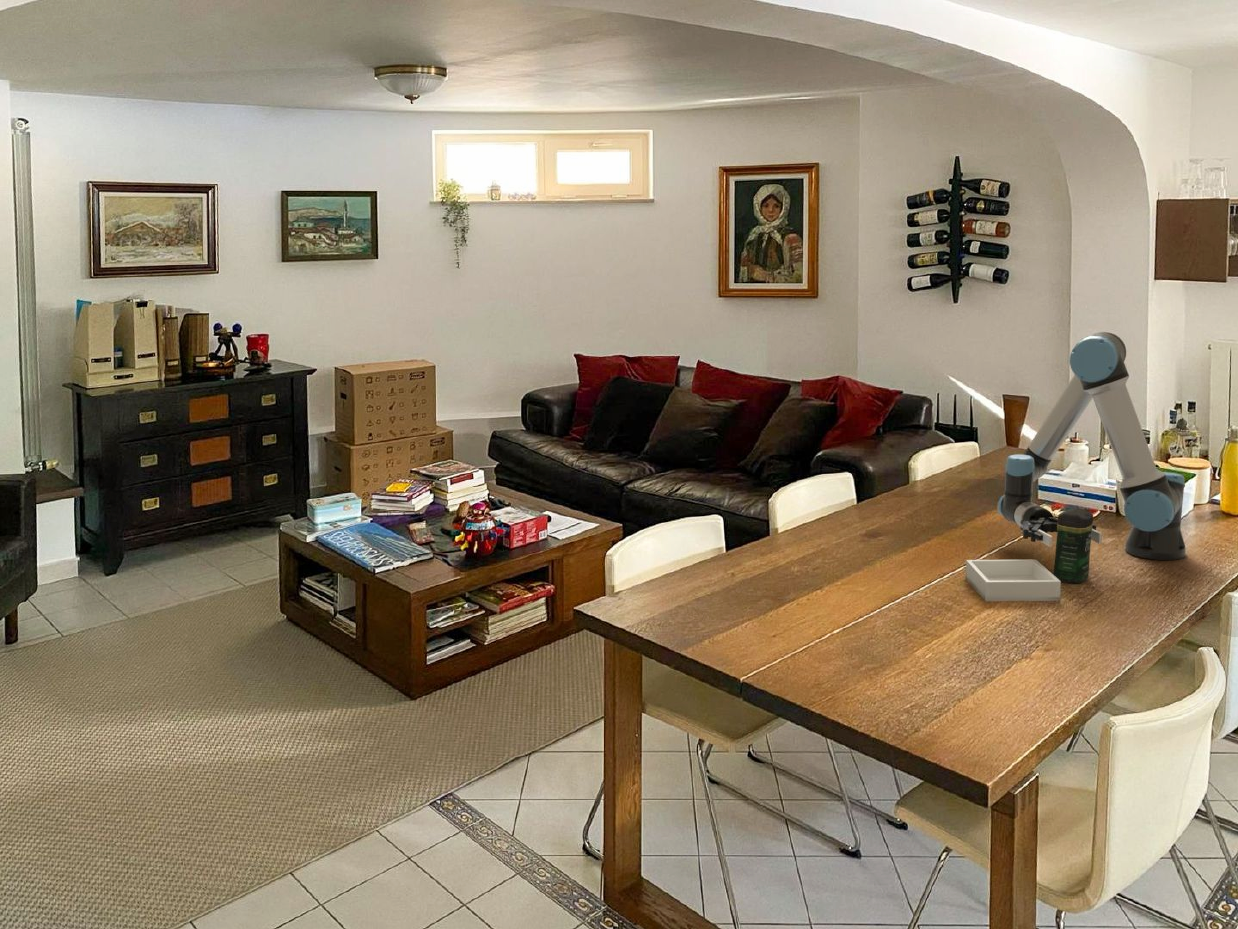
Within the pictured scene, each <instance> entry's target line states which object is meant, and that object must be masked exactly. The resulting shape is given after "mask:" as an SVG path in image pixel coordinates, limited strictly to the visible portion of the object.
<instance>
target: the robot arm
mask: <svg viewBox="0 0 1238 929" xmlns="http://www.w3.org/2000/svg"><path fill="white" fill-rule="evenodd" d="M1069 355H1070V356H1069V365H1070V369H1071V372H1073V373H1072V374H1074V375H1073V376H1072V378H1071V380H1070V381H1069V382H1068V384H1067V385H1066V387H1065V389H1064V390H1063V392H1062V394H1061V395H1060V397H1059V398H1058V399H1057V402H1056V403H1055V404H1054V406H1053V408H1052V409H1051V410H1050V412H1049V413H1048V416H1047V417H1046V418H1045V420H1044V422H1043V423H1042V424H1041V426H1040V428H1039V429H1038V431H1037V433H1036V434H1035V436H1033V439H1032V441H1031V442H1030V443H1029V445H1028V447H1027V448H1025V449H1026V450H1024V452H1023V454H1012V455H1008V457H1006V462H1005V463H1006V464H1005V467H1004V468H1005V473H1004V474H1005V477H1004V494H1003V495H1002V496H1000V498H999V499H998V502H997V511H998V513H999V515H1000V516H1002V517H1003V518H1004V519H1005V520H1007V521H1008V522H1011V523H1013V524H1015V525H1017V526H1019V528H1020V531H1022V539H1024V540H1027V539H1029V538H1030V542H1032V543H1035V542H1036V541H1038V542H1040V543H1042V544H1043V545H1046V546H1047V547H1048V548H1050V547H1053V538H1054V537H1053V536H1052V535H1050V534H1049V533H1057V521H1058V518H1056V517H1054V515H1053V513H1052V512H1051V511H1049V509H1046V508H1044V507H1043V506H1040V505H1039V504H1036V503H1034V502H1033V490H1034V487H1033V486H1034V482H1036V481H1037V480H1038V479H1040V478H1042V477H1043V476H1044V474H1045V473H1046V472H1047V470H1048V466H1049V465H1050V463H1052V462H1051V461H1052V460H1053V458H1054V457H1055V455H1056V454H1057V453H1058V451H1059V449H1060V448H1061V446H1062V445H1063V444H1064V442H1065V441H1066V439H1067V438H1068V436H1069V434H1070V433H1071V432H1072V430H1073V429H1074V427H1075V426H1076V424H1077V422H1078V421H1079V420H1080V418H1081V417H1082V415H1083V414H1084V413H1085V410H1086V409H1087V407H1088V406H1089V404H1090V403H1091V401H1092V400H1093V401H1094V402H1093V403H1094V406H1095V407H1096V409H1097V412H1098V415H1099V418H1100V421H1101V424H1102V426H1103V428H1104V432H1105V434H1106V437H1107V440H1108V442H1109V446H1110V448H1111V451H1112V453H1113V456H1114V459H1115V461H1116V464H1117V467H1118V470H1119V472H1120V475H1121V478H1122V480H1121V481H1120V484H1119V485H1118V488H1119V490H1120V493H1121V496H1122V499H1123V501H1124V505H1123V511H1124V512H1123V513H1124V516H1125V518H1126V520H1127V522H1128V523H1129V524H1130V525H1131V529H1130V530H1129V534H1128V536H1127V538H1126V540H1125V544H1124V551H1125V552H1126V553H1128V554H1130V555H1132V556H1134V557H1138V558H1143V559H1149V560H1158V561H1176V560H1181V559H1183V558H1185V556H1186V549H1187V548H1186V543H1185V540H1184V537H1183V533H1182V529H1181V527H1182V526H1181V524H1182V522H1181V521H1182V513H1183V503H1184V491H1185V490H1184V489H1185V488H1186V484H1185V476H1184V475H1182V474H1180V473H1175V472H1167V471H1161V470H1159V469H1158V468H1157V467H1156V463H1155V461H1154V459H1153V456H1152V453H1151V450H1150V447H1149V445H1148V442H1147V439H1146V436H1145V434H1144V431H1143V428H1142V426H1141V422H1140V421H1139V418H1138V415H1137V414H1138V413H1137V412H1136V409H1135V407H1134V404H1133V401H1132V399H1131V395H1130V393H1129V391H1128V386H1127V385H1126V384H1127V382H1128V380H1129V378H1130V374H1129V371H1128V369H1127V366H1126V363H1125V361H1126V357H1127V348H1126V344H1125V343H1124V340H1123V339H1121V337H1120V336H1118V335H1116V334H1114V333H1112V332H1107V331H1099V332H1096V333H1094V334H1091V335H1089V336H1086V337H1084V338H1082V339H1080V340H1079V341H1078V342H1077V343H1076V344H1075V345H1074V347H1073V348H1072V350H1071V352H1070V354H1069ZM1091 541H1093V542H1095V543H1097V544H1102V542H1103V533H1102V532H1101V531H1099V530H1097V525H1096V524H1093V526H1092V534H1091Z"/></svg>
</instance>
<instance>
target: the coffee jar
mask: <svg viewBox="0 0 1238 929" xmlns="http://www.w3.org/2000/svg"><path fill="white" fill-rule="evenodd" d="M1057 519H1058V521H1057V532H1056V541H1055V542H1056V543H1055V554H1054V563H1053V572H1052V574H1053V575H1054V576H1055V577H1056V578H1057V579H1059V580H1060V581H1061V583H1062V582H1063V583H1068V584H1070V583H1074V584H1075V583H1076V584H1080V583H1082V582H1085V580H1087V579H1088V578H1089V575H1090V559H1091V558H1090V557H1091V556H1090V555H1091V544H1092V543H1091V542H1092V540H1091V534H1092V526H1093V525H1094V515H1093V513H1092V512H1091V511H1090V510H1089V509H1085V508H1080V507H1072V508H1070V509H1067V510H1065V511H1063V512H1060V513H1059V514H1058V516H1057Z"/></svg>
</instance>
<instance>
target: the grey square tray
mask: <svg viewBox="0 0 1238 929" xmlns="http://www.w3.org/2000/svg"><path fill="white" fill-rule="evenodd" d="M964 576H965V580H966V581H967V582H968V584H969V585H970V586H971V587H972V588H973V589H974V590H975V591H976V592H977V594H978V595H979V596H980V595H981V596H980V597H981V598H982V600H984V601H985V602H1059V601H1061V600H1060V599H1061V598H1060V597H1061V583H1062V581H1060V580H1059V579H1057V578H1056V577H1055V576H1054V575H1053V572H1051V571H1049V570H1048V569H1047V568H1046V567H1045V565H1043V564H1042V563H1041V562H1039V561H1038V560H1037V559H966V560H965V575H964Z"/></svg>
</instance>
